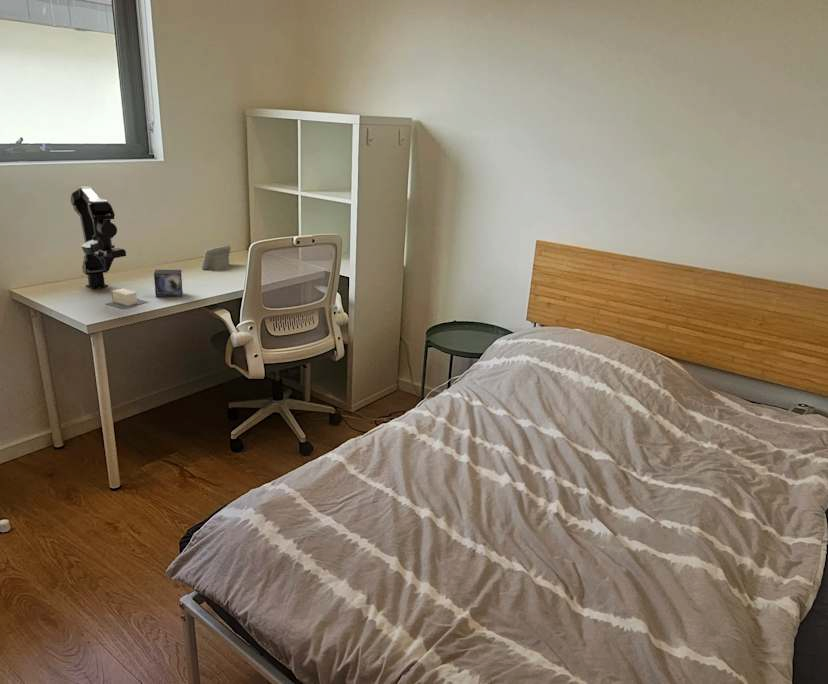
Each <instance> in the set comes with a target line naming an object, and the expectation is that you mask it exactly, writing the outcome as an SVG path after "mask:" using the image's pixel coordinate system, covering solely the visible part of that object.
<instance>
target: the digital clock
mask: <svg viewBox="0 0 828 684" xmlns="http://www.w3.org/2000/svg"><path fill="white" fill-rule="evenodd" d="M230 252H231V246H230V245H223V246H218V247H213V248H207V249H205V252H204V256H203V260H202V264H201V269H202V270H212V271H216V272H217V271H220V270H224V269H229V268H230V259H229V257H230Z"/></svg>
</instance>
